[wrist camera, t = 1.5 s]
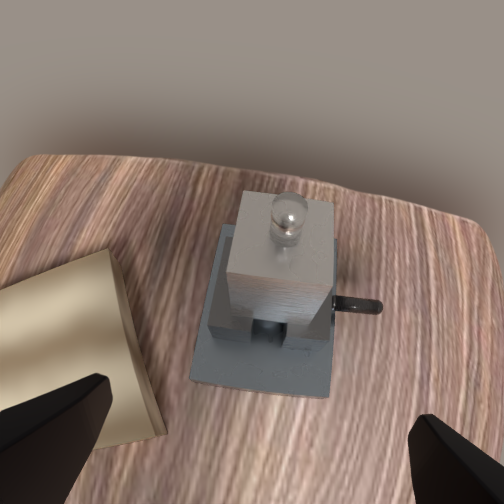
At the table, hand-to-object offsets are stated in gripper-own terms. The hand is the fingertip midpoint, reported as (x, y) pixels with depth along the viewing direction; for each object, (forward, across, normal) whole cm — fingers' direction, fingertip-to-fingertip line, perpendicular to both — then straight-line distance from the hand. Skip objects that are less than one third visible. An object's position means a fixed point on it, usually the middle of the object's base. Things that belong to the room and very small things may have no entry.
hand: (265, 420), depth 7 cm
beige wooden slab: (+9, +16, +10) cm, 21 cm away
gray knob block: (+11, 0, 0) cm, 11 cm away
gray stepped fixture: (+15, -2, +4) cm, 16 cm away
